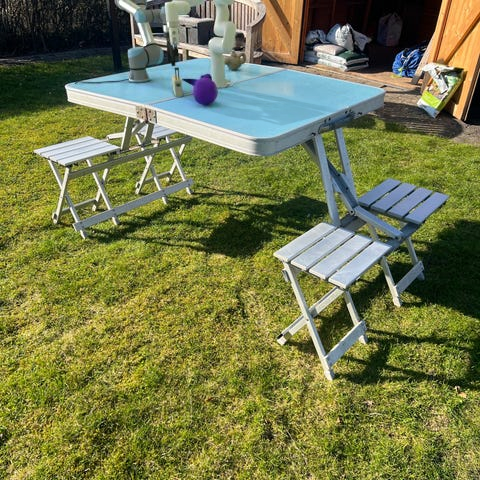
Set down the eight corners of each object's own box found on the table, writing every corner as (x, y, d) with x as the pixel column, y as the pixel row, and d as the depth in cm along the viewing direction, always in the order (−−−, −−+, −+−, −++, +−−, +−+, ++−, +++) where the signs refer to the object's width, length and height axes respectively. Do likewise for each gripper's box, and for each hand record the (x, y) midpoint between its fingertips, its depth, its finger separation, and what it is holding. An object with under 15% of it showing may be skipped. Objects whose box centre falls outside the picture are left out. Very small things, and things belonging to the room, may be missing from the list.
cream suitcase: (182, 96, 293) (181, 81, 289) (175, 96, 292) (174, 82, 288) (180, 90, 308) (178, 76, 303) (173, 91, 307) (172, 77, 302)
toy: (205, 96, 290) (217, 110, 270) (179, 91, 283) (189, 106, 262) (211, 71, 282) (224, 84, 262) (184, 66, 275) (195, 79, 254)
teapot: (226, 72, 363) (226, 52, 355) (220, 70, 372) (219, 50, 364) (249, 69, 372) (249, 50, 365) (242, 67, 381) (241, 48, 373)
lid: (181, 81, 288) (180, 67, 284) (174, 82, 287) (173, 68, 283) (178, 76, 303) (177, 63, 299) (172, 77, 302) (170, 63, 298)
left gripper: (177, 33, 300) (180, 66, 310) (171, 29, 320) (174, 61, 331) (166, 33, 298) (169, 67, 309) (160, 30, 318) (163, 62, 329)
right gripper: (180, 25, 266) (182, 56, 275) (177, 23, 281) (180, 52, 289) (167, 26, 265) (170, 57, 273) (165, 23, 279) (168, 53, 288)
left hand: (171, 64), depth 320 cm, fingers open, 13 cm apart
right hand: (175, 55), depth 281 cm, fingers open, 9 cm apart
